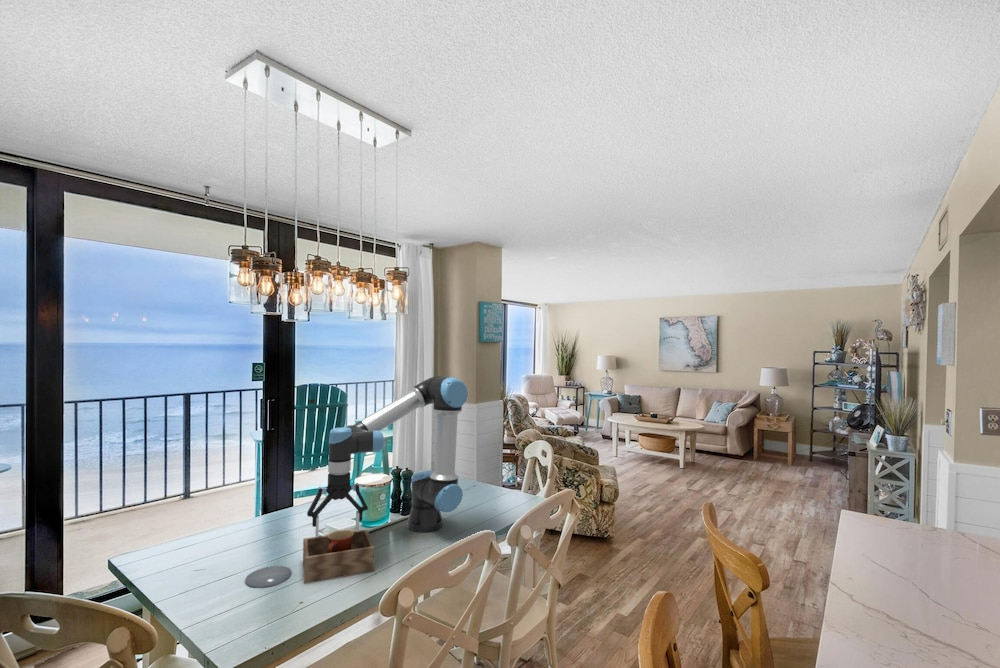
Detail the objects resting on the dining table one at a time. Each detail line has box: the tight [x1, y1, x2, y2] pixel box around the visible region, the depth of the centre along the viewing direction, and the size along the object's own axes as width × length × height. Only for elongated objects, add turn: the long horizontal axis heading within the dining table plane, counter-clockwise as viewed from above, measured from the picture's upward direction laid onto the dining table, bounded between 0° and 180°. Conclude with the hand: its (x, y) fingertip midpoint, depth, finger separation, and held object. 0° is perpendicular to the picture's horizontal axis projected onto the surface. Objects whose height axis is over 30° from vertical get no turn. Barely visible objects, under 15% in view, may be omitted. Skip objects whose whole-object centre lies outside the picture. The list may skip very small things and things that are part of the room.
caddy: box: [302, 529, 376, 584], centre depth 170 cm, size 22×17×8 cm
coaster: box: [244, 565, 293, 589], centre depth 161 cm, size 14×14×1 cm
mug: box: [327, 529, 354, 553], centre depth 170 cm, size 12×9×10 cm
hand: (337, 533), depth 170 cm, fingers open, 13 cm apart
